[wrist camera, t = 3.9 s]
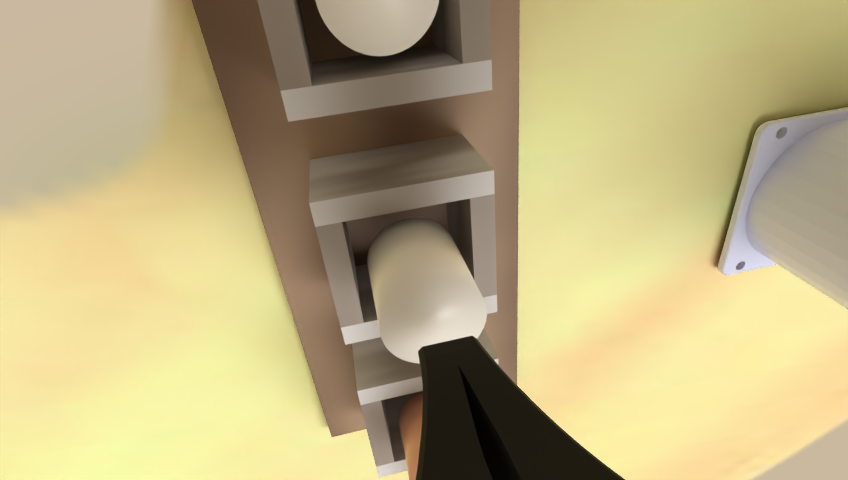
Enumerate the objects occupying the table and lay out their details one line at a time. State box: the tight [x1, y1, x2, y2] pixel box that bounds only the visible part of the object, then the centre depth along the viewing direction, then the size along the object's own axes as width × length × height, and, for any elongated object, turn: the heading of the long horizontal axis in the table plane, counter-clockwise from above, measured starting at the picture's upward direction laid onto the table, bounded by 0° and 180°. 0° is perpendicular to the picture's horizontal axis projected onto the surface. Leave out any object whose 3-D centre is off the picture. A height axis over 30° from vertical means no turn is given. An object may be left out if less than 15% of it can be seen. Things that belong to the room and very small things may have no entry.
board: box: [192, 0, 519, 477], centre depth 17 cm, size 10×24×4 cm, turn 6°
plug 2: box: [367, 218, 487, 364], centre depth 14 cm, size 3×3×3 cm
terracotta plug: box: [398, 392, 423, 480], centre depth 18 cm, size 3×3×3 cm
